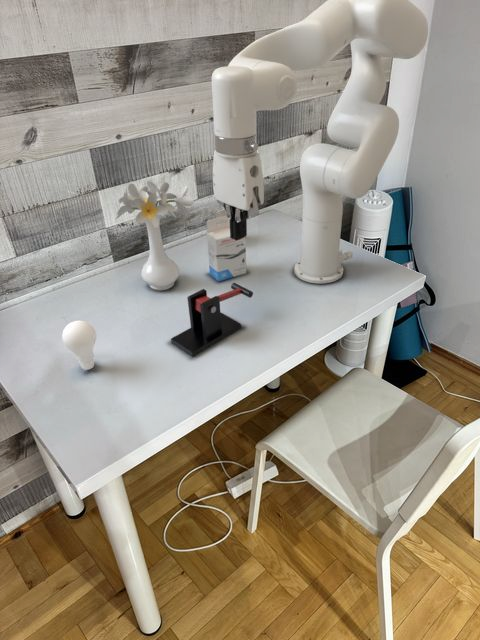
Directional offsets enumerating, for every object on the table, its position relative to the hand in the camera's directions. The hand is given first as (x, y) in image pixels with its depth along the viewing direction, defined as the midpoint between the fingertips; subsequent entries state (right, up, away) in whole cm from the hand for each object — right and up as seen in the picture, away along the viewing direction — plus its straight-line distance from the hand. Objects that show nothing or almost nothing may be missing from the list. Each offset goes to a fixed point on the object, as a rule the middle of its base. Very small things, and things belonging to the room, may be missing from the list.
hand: (238, 237), depth 104 cm
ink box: (-4, -4, +27) cm, 28 cm away
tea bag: (-6, +7, +41) cm, 42 cm away
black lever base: (-7, -20, +6) cm, 22 cm away
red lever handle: (-4, -13, +5) cm, 14 cm away
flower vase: (-20, -6, +24) cm, 32 cm away
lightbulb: (-30, -27, -2) cm, 40 cm away
